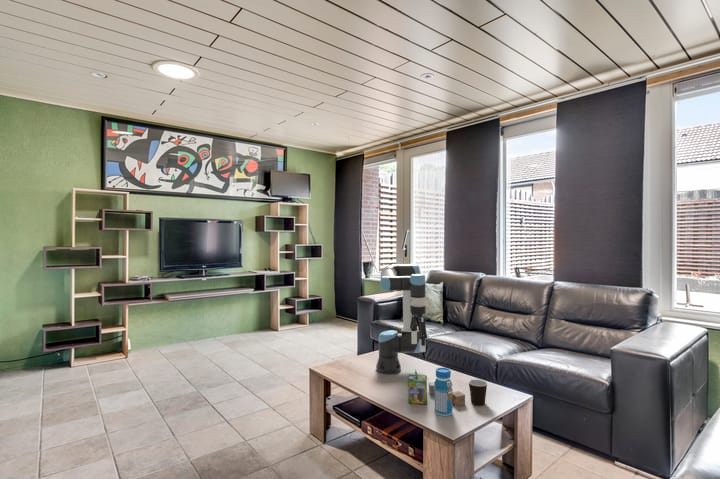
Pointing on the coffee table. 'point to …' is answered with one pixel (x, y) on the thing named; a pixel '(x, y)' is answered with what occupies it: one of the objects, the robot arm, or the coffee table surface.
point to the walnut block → (458, 398)
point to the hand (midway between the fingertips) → (418, 347)
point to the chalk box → (417, 389)
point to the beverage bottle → (443, 392)
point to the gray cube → (431, 388)
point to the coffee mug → (478, 392)
